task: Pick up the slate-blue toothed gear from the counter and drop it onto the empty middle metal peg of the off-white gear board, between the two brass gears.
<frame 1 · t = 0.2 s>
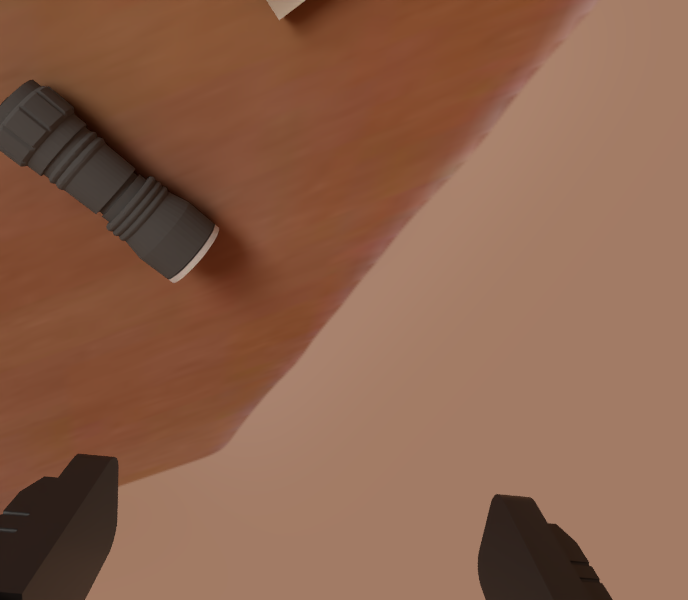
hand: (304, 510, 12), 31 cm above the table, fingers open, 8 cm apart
flashlight: (126, 171, 40), on the table
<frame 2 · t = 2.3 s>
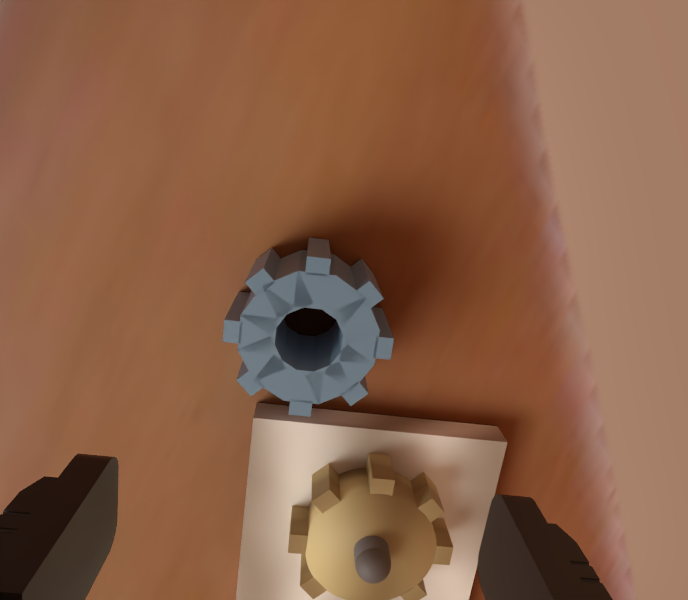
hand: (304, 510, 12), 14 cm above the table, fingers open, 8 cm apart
loose gear: (310, 309, 25), on the table
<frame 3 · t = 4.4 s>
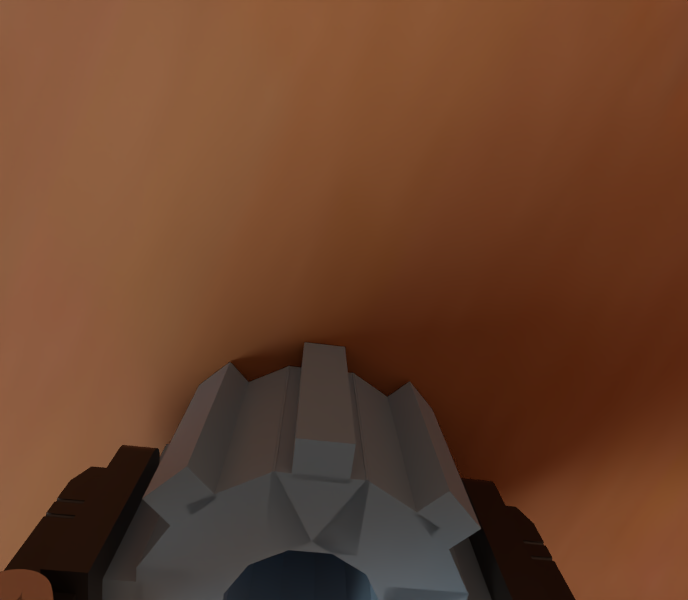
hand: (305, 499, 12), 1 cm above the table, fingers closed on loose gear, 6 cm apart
loose gear: (307, 474, 13), on the table, touching gripper
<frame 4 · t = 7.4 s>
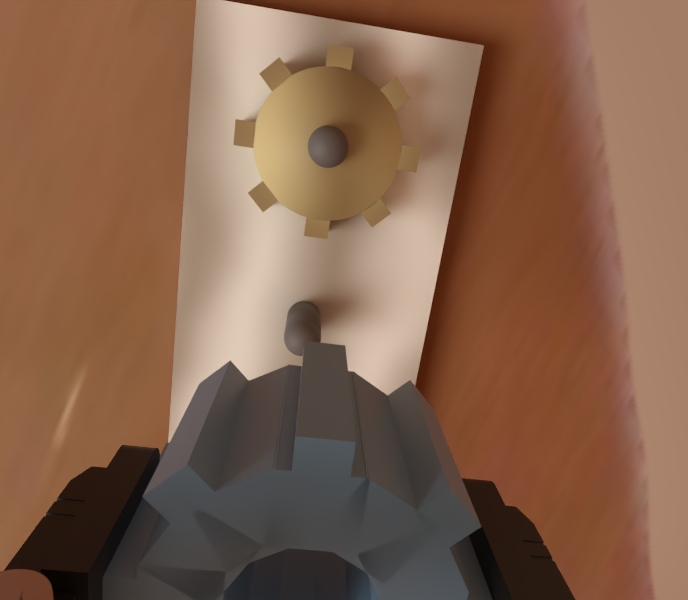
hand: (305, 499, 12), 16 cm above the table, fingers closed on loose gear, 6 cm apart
gear board: (304, 307, 28), on the table
loose gear: (307, 473, 13), point 15 cm above the table, touching gripper
when the fingers open (4 cm above the table, at t = 10.8 s): loose gear drops 1 cm, resting on gear board.
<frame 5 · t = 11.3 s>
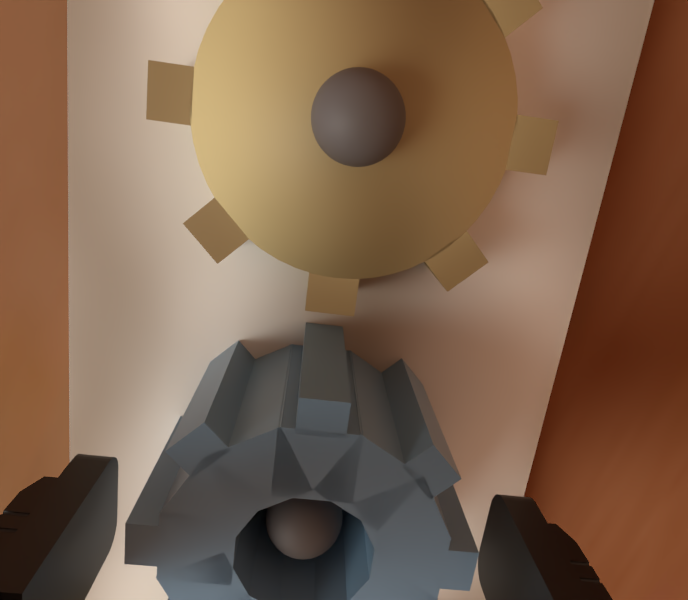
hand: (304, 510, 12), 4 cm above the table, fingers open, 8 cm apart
gear board: (309, 416, 16), on the table
loose gear: (308, 444, 14), point 1 cm above the table, touching gear board
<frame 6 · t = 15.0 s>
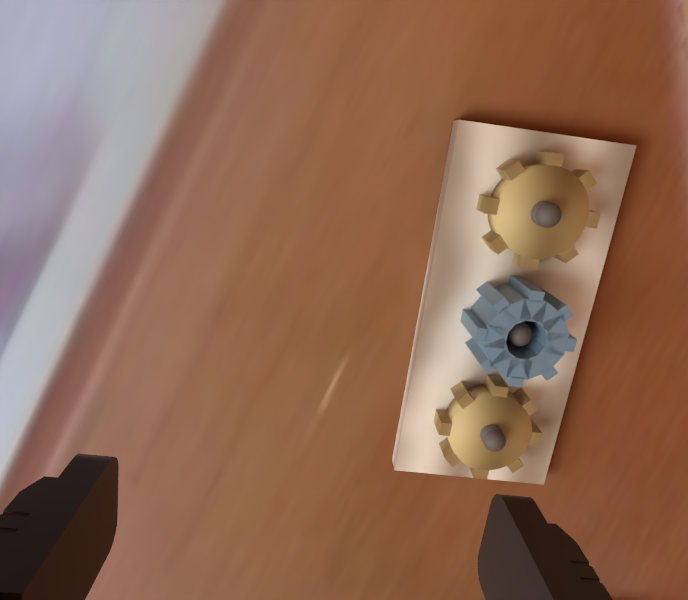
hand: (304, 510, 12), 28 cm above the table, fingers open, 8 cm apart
gear board: (499, 314, 40), on the table
loose gear: (506, 320, 39), point 1 cm above the table, touching gear board
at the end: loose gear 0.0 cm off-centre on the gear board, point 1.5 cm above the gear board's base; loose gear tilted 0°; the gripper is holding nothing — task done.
